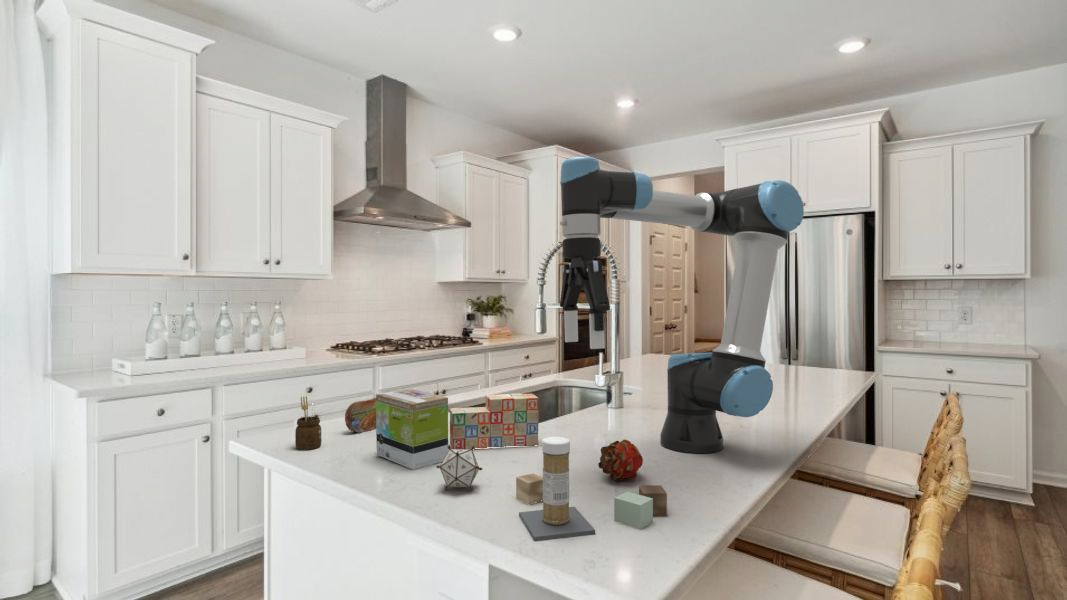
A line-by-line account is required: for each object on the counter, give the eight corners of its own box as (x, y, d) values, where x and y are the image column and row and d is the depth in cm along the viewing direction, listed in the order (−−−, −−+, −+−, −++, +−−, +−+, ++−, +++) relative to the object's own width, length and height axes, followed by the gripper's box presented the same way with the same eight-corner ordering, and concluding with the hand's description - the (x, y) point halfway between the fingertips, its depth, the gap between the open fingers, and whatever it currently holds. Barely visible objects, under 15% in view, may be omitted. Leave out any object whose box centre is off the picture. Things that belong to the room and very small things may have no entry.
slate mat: (574, 509, 99) (574, 506, 99) (595, 533, 89) (595, 529, 89) (519, 515, 96) (519, 512, 96) (534, 540, 87) (534, 536, 87)
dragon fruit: (607, 495, 111) (624, 485, 121) (643, 474, 108) (657, 465, 119) (585, 456, 114) (603, 449, 124) (619, 434, 111) (635, 430, 122)
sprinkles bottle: (568, 514, 95) (568, 435, 95) (570, 526, 91) (571, 442, 91) (541, 515, 95) (541, 435, 95) (542, 526, 91) (542, 443, 90)
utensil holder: (300, 452, 134) (300, 401, 134) (291, 446, 139) (291, 397, 138) (325, 447, 138) (325, 398, 138) (315, 442, 143) (315, 394, 142)
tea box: (374, 456, 130) (374, 393, 130) (411, 448, 138) (410, 387, 138) (412, 471, 120) (412, 402, 120) (449, 460, 128) (449, 395, 127)
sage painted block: (626, 514, 98) (626, 491, 98) (652, 522, 94) (652, 498, 94) (614, 521, 95) (614, 497, 94) (640, 529, 91) (640, 505, 91)
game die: (462, 511, 108) (456, 480, 102) (431, 487, 112) (424, 456, 106) (493, 478, 114) (489, 447, 107) (462, 457, 118) (457, 426, 112)
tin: (350, 435, 149) (350, 404, 149) (342, 434, 151) (342, 402, 151) (393, 424, 162) (393, 395, 162) (385, 423, 164) (385, 394, 163)
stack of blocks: (451, 452, 135) (451, 400, 135) (449, 445, 141) (449, 396, 141) (538, 446, 140) (538, 396, 140) (532, 439, 146) (532, 392, 146)
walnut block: (661, 507, 101) (661, 485, 101) (666, 516, 97) (666, 493, 97) (638, 507, 101) (638, 485, 101) (643, 516, 97) (643, 493, 97)
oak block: (533, 494, 107) (533, 473, 107) (546, 500, 104) (546, 478, 104) (516, 498, 105) (516, 477, 105) (528, 505, 102) (528, 483, 101)
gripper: (543, 242, 122) (546, 340, 123) (587, 231, 98) (590, 353, 99) (576, 242, 124) (578, 338, 125) (627, 231, 101) (629, 350, 101)
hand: (583, 345), depth 112 cm, fingers open, 13 cm apart
